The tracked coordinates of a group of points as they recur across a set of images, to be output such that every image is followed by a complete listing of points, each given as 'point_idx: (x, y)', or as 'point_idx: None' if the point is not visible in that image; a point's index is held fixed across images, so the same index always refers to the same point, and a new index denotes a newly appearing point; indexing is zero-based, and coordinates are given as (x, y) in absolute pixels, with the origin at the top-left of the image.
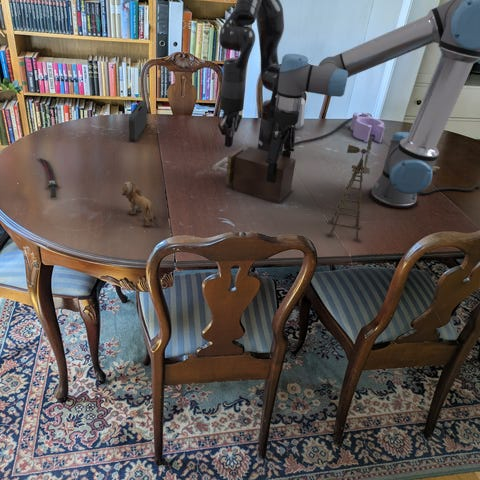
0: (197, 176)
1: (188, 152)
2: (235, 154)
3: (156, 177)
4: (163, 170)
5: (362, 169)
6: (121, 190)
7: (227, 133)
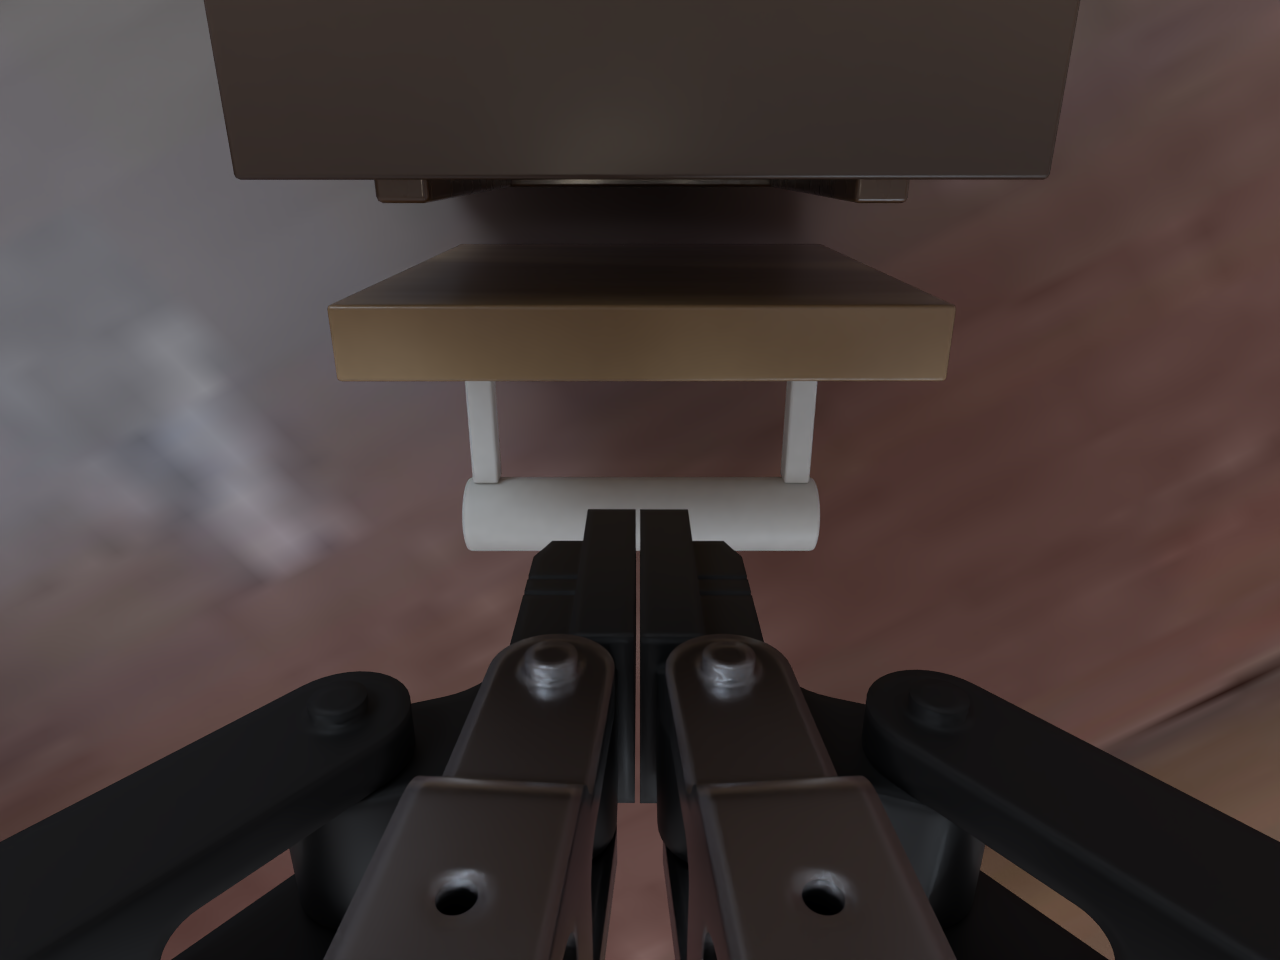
0: (762, 633)
1: None
2: (746, 304)
3: (987, 873)
4: None
5: None
6: None
7: (1136, 773)
